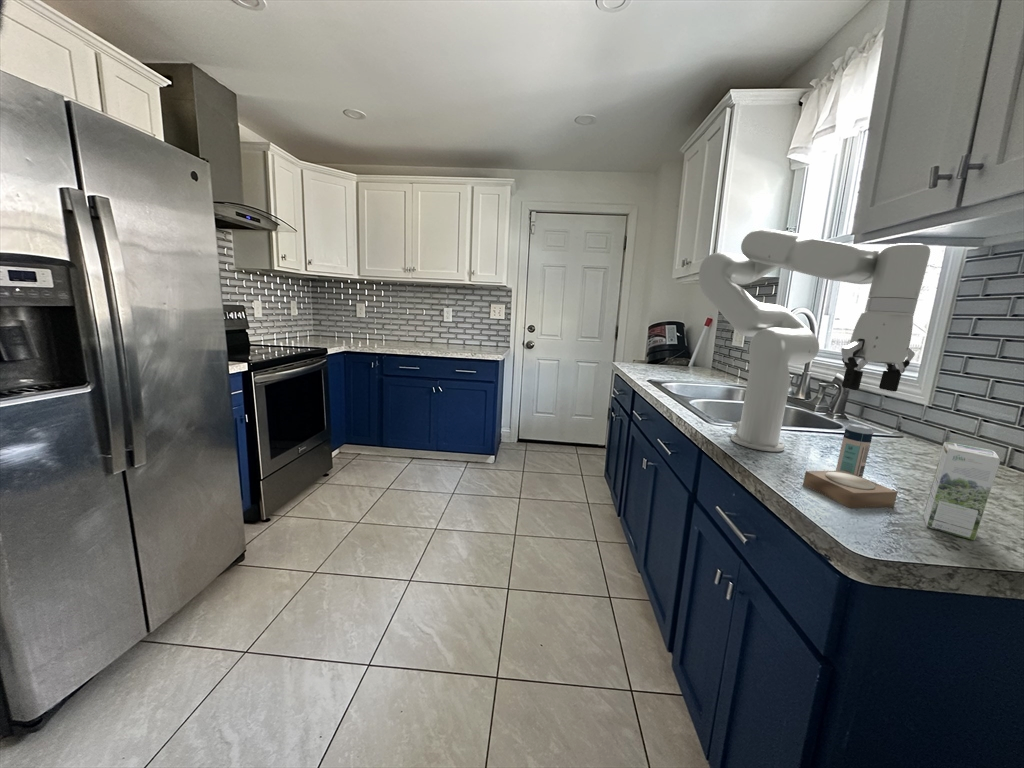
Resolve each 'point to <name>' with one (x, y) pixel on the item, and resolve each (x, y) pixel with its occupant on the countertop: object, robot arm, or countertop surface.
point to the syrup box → (960, 489)
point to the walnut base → (850, 489)
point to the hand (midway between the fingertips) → (868, 389)
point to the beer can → (855, 449)
